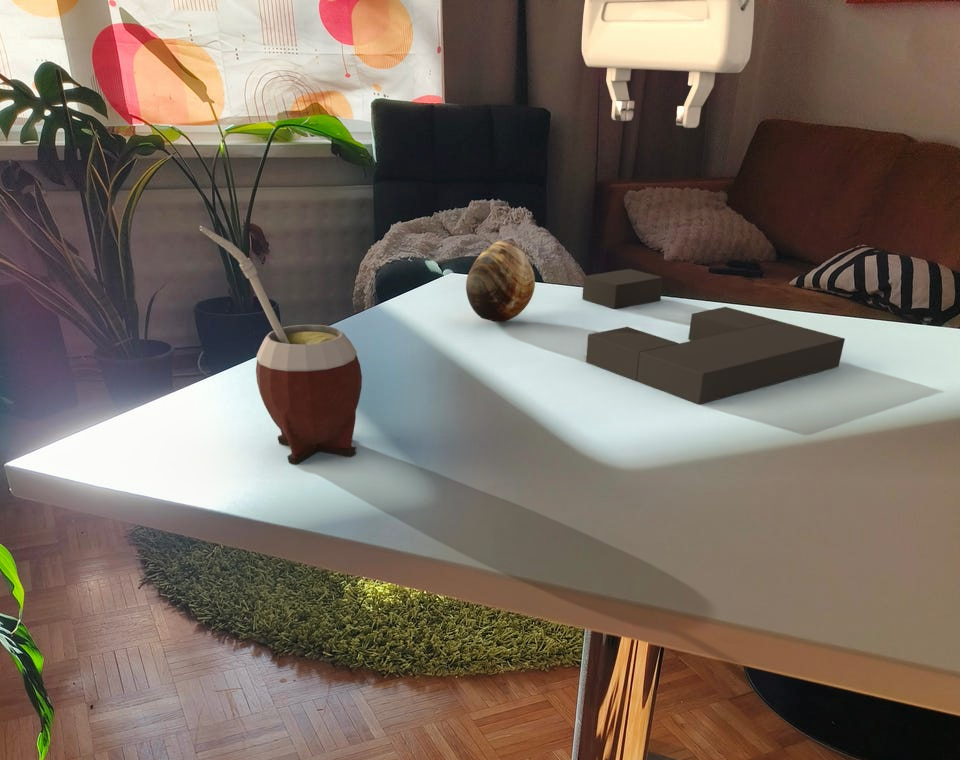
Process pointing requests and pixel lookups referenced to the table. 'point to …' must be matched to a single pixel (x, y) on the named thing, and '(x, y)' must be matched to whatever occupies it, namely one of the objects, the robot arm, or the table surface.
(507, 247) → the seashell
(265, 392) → the mate gourd
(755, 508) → the table surface
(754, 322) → the big pad
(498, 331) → the table surface
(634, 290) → the small block
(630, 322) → the table surface
